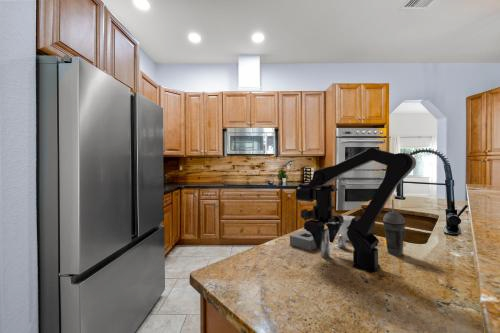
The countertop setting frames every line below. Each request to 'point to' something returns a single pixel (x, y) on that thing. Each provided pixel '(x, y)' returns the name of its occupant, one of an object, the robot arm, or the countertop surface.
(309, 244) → the hole block
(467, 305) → the countertop surface
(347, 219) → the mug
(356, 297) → the countertop surface
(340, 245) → the short pin
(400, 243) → the beverage cup
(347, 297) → the countertop surface
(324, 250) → the long pin
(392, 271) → the countertop surface
